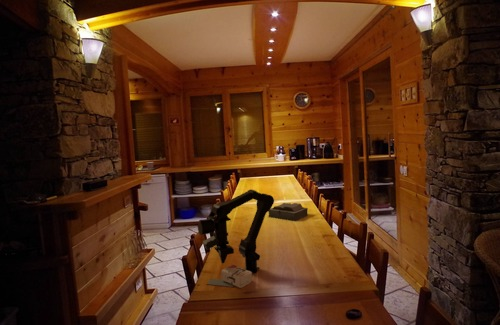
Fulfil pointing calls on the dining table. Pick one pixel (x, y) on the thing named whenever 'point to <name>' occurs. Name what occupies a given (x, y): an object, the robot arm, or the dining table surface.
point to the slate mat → (219, 283)
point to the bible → (288, 212)
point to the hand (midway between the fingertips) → (222, 263)
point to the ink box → (236, 276)
